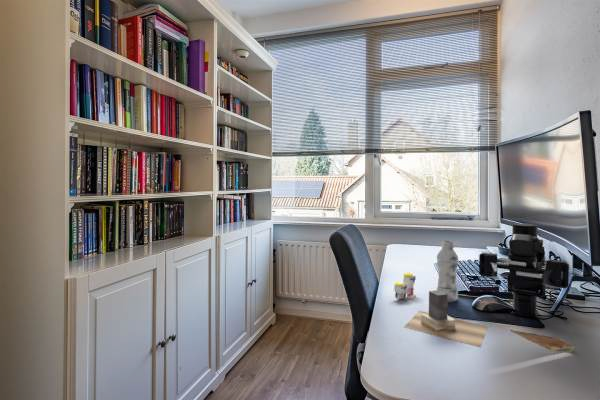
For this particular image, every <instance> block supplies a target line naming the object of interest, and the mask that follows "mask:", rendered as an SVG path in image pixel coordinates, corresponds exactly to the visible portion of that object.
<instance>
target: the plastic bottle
mask: <svg viewBox="0 0 600 400" xmlns="http://www.w3.org/2000/svg"><path fill="white" fill-rule="evenodd" d="M454 248H455V242H454V241H451V240H442V241H441V249H440V250H439V251H438V253H437V255H436V260H437V269H438V270H437V271H438V279H437V287H436V290H439V291H441V292H444V293H446V294H448V303H455V302H456V301H457V300H458V297H459V291H458V287H457V286H458V285H457V269H458V264H459V256H458V254H457V253H456V251H455V250H454Z"/></svg>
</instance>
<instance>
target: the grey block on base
mask: <svg viewBox="0 0 600 400" xmlns="http://www.w3.org/2000/svg"><path fill="white" fill-rule="evenodd" d="M448 303H449V302H448V294H446V293H444V292H441V291H439V290H437V289H435V290H429V291H428V312H427V313H425V314H421V323H422V324H424V325H426V326H427V327H429V328H431V329H432V330H434V331H436V332H440V331H446V330H451V329H455V319H456V318H454V317H452V316H449V315H448ZM453 318H454V319H453Z"/></svg>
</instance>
